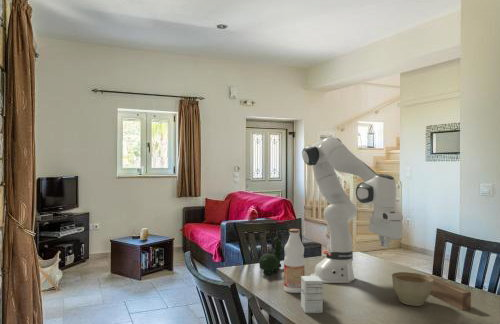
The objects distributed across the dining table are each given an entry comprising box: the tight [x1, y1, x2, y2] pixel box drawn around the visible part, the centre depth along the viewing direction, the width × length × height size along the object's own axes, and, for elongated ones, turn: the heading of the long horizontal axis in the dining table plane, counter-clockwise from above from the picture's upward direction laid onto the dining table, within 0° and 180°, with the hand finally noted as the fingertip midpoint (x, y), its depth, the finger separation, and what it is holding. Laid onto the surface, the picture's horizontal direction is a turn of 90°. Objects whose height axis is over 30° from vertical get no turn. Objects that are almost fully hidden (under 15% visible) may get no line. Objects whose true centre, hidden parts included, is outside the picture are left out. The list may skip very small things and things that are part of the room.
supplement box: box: [300, 275, 324, 314], centre depth 160 cm, size 7×7×13 cm
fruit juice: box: [283, 228, 306, 294], centre depth 185 cm, size 9×9×28 cm
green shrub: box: [258, 236, 284, 276], centre depth 215 cm, size 9×19×25 cm
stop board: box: [428, 275, 472, 311], centre depth 173 cm, size 4×24×7 cm, turn 12°
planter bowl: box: [391, 271, 433, 307], centre depth 170 cm, size 16×16×11 cm
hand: (384, 246), depth 167 cm, fingers closed
